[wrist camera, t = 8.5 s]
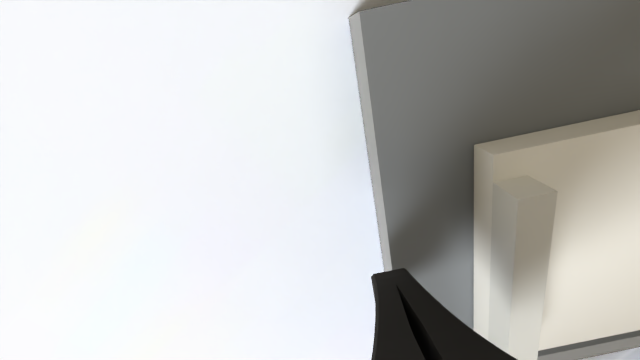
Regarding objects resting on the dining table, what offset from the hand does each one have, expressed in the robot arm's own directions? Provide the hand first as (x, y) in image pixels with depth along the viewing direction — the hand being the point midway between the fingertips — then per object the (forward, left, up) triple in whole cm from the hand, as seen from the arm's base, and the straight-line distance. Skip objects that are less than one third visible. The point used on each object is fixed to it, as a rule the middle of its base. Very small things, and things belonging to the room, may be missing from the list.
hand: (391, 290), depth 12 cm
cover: (0, -8, -1) cm, 8 cm away
